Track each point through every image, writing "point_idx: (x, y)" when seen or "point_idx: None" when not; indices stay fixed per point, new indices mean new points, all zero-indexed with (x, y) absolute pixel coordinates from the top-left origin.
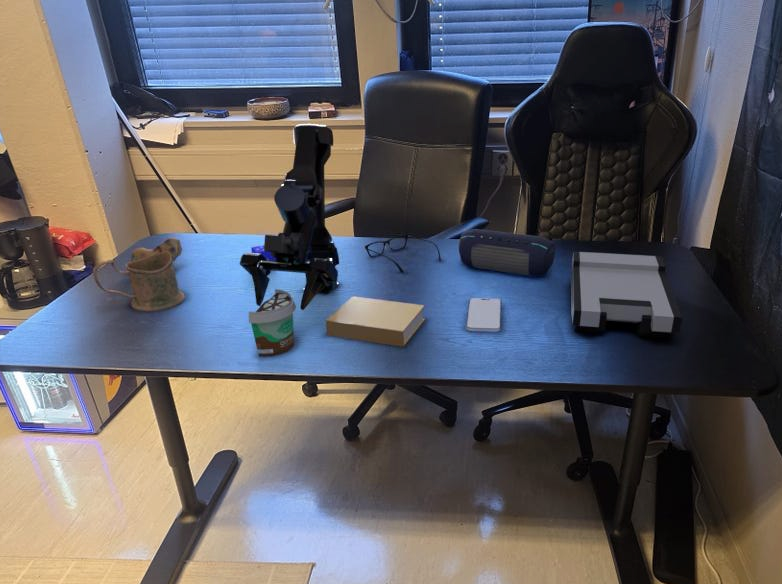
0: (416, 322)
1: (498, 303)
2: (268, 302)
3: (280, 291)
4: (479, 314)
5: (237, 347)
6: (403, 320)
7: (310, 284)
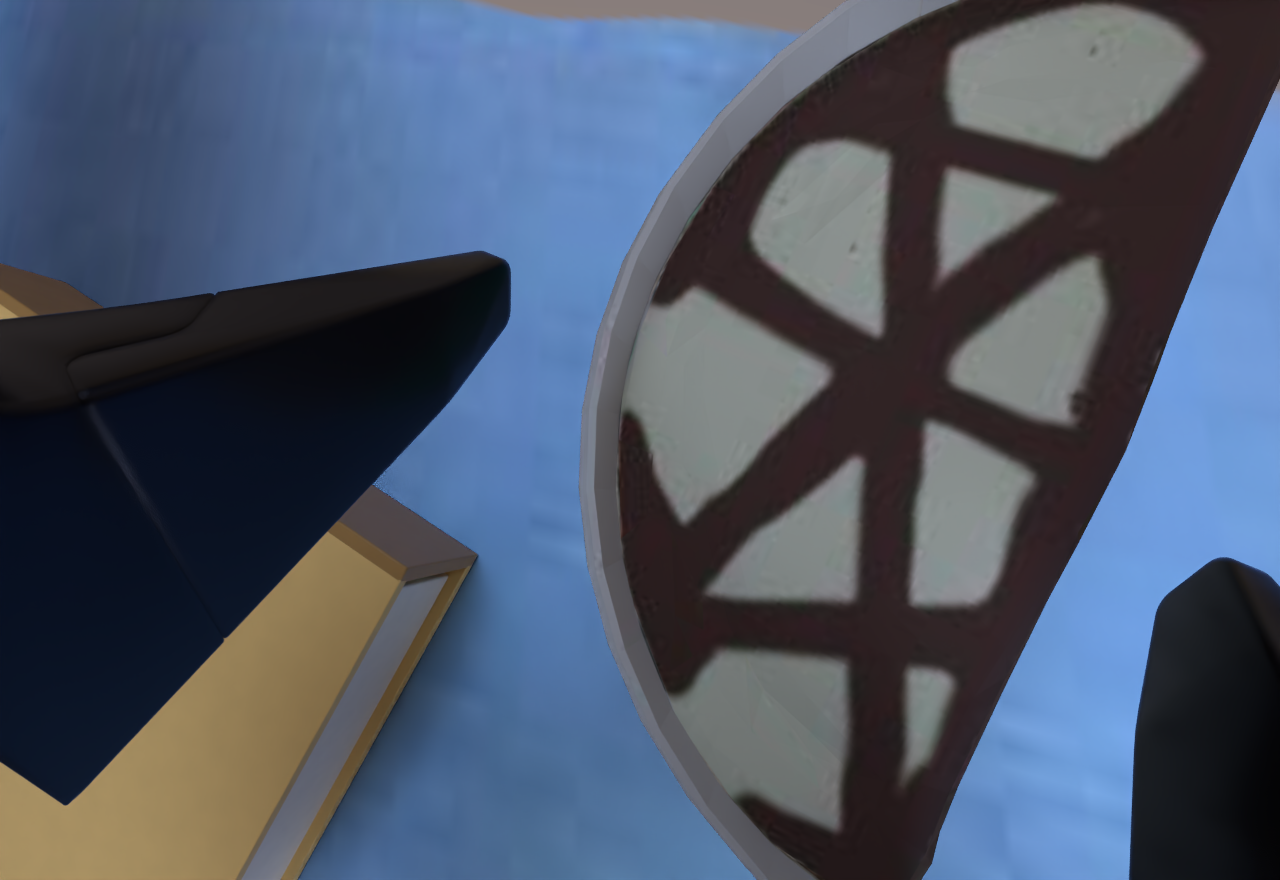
0: None
1: None
2: (1019, 457)
3: None
4: None
5: (1245, 509)
6: None
7: (30, 334)
